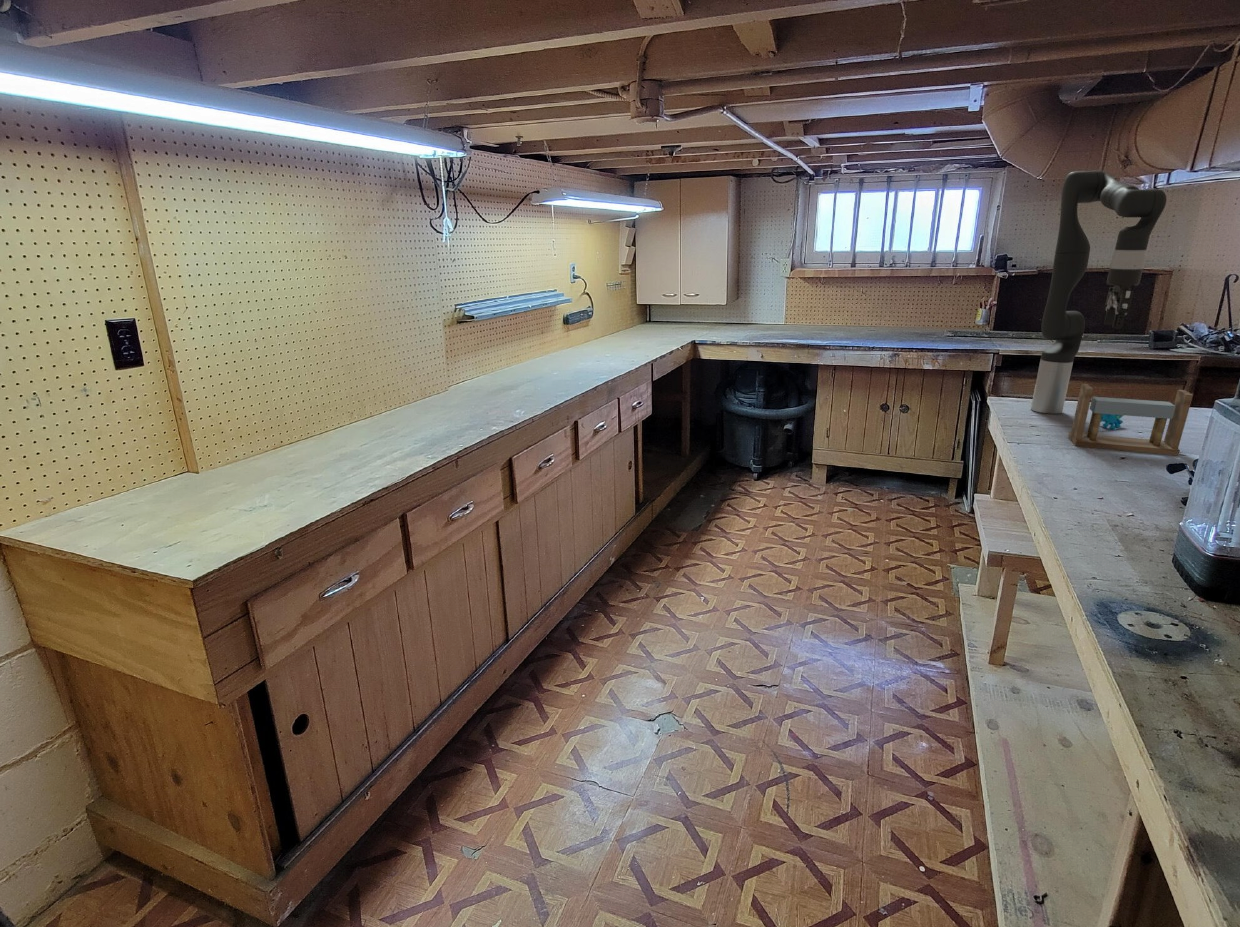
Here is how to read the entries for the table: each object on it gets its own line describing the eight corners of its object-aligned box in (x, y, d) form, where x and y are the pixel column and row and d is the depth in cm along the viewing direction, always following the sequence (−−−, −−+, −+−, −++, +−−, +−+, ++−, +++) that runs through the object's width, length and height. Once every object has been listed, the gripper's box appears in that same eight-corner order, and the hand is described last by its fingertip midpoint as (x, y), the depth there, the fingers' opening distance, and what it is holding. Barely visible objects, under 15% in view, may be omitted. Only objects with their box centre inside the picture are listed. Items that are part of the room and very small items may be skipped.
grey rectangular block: (1165, 414, 185) (1169, 401, 184) (1172, 418, 181) (1175, 406, 179) (1089, 408, 191) (1092, 396, 190) (1094, 413, 187) (1096, 400, 186)
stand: (1068, 437, 197) (1080, 382, 192) (1166, 446, 189) (1182, 389, 183) (1075, 446, 189) (1088, 389, 184) (1178, 455, 181) (1195, 396, 175)
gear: (1102, 426, 202) (1090, 398, 207) (1086, 435, 208) (1075, 408, 212) (1132, 429, 205) (1120, 401, 209) (1115, 438, 210) (1104, 411, 214)
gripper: (1151, 268, 176) (1136, 330, 182) (1134, 266, 189) (1120, 324, 194) (1117, 268, 179) (1103, 329, 184) (1103, 265, 192) (1090, 323, 197)
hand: (1112, 326), depth 189 cm, fingers open, 8 cm apart
